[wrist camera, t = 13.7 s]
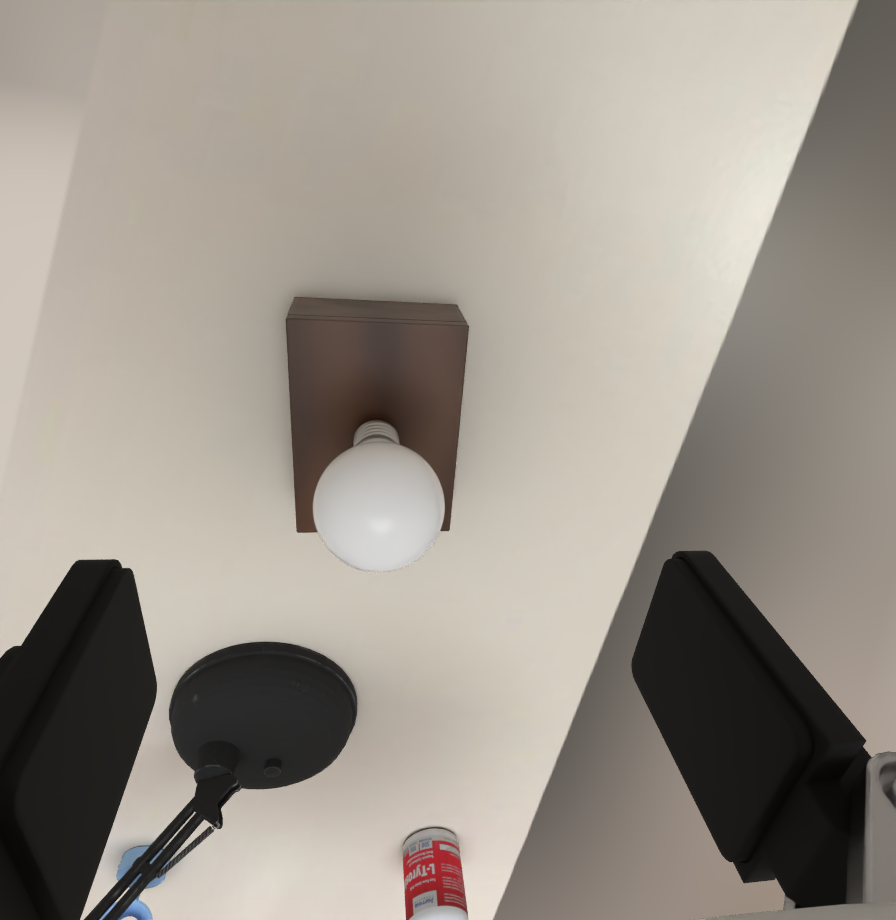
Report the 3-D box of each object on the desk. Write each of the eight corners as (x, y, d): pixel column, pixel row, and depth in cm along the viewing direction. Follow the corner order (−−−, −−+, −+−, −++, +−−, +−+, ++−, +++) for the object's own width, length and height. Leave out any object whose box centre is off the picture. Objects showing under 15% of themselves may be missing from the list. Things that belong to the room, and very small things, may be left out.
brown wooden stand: (302, 494, 43) (296, 533, 38) (294, 296, 36) (285, 318, 32) (441, 493, 44) (449, 531, 40) (457, 304, 38) (469, 325, 33)
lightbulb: (365, 498, 38) (366, 622, 28) (300, 425, 35) (276, 536, 25) (448, 445, 37) (479, 555, 27) (388, 365, 34) (398, 457, 24)
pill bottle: (428, 819, 63) (440, 942, 54) (469, 836, 66) (487, 956, 56) (390, 848, 65) (395, 972, 56) (431, 864, 68) (443, 985, 58)
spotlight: (122, 835, 58) (117, 874, 61) (81, 958, 50) (77, 997, 52) (176, 837, 60) (168, 876, 62) (144, 958, 51) (137, 996, 54)
